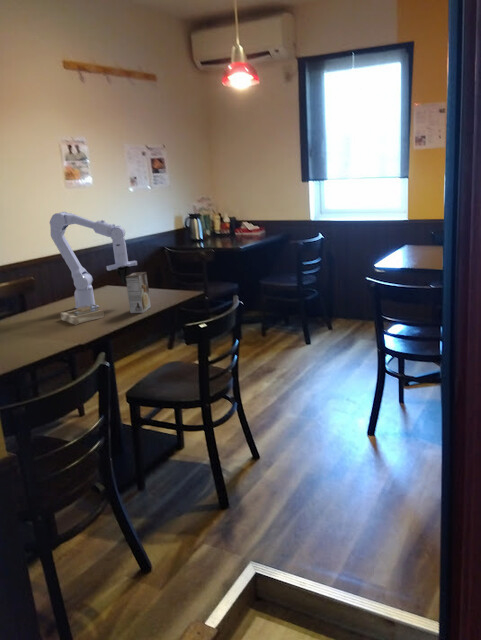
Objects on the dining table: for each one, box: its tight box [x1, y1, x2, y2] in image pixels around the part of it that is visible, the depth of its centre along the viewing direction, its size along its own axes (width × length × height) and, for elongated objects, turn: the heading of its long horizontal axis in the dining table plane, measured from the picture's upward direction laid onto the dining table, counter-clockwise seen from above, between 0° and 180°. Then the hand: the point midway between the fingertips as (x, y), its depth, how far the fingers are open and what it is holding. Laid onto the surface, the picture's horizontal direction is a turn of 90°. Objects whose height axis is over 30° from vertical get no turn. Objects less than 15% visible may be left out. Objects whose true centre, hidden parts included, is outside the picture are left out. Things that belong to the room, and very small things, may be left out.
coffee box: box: [125, 271, 152, 314], centre depth 241 cm, size 9×6×16 cm
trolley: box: [74, 304, 98, 316], centre depth 237 cm, size 6×8×5 cm
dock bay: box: [59, 308, 105, 326], centre depth 236 cm, size 14×14×3 cm
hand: (124, 283), depth 253 cm, fingers closed
